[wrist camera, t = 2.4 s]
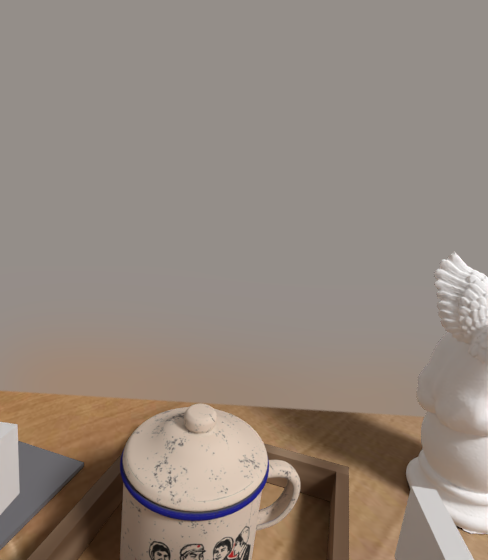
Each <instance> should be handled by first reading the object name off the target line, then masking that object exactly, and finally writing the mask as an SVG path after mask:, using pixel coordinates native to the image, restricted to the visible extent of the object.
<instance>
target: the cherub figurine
mask: <svg viewBox="0 0 488 560" xmlns="http://www.w3.org/2000/svg"><path fill="white" fill-rule="evenodd" d="M440 267H441V268H440V269H437V270H435V272H434V277H435V278H436V279H438V281H436V282H435V284H434V285H435V286H436V288H437V289H438V291H437V293H436V294H437V297H438V298H440V299H441V301H440V302H438V304H437V307H438V309H439V312H438V314H439V316H440V317H441V319H442V320H441V324H442V326H443V327H444V328H445V330H446V331H447V333H446V334H445V335H444V336H443V337H442V338H441V339H440V341H439V342H438V344H437V345H436V347H435V349H434V351H433V353H432V356H431V359H430V361H429V363H428V364H427V366H426V367H425V368H424V369H423V370H422V372H421V373H420V374H419V377H418V387H417V400H418V402H419V404H420V405H421V407H422V408H423V409H424V410H426V411H427V413H426V415H425V417H424V419H423V423H422V427H421V442H422V447H423V449H422V450H421V451H420V453H419V457H416V458H414V459H413V460H411V461H410V463H409V464H408V466H407V469H406V477H407V481H408V483H409V486H410V489H411V486H415V487H422V488H428V489H434V490H437V492H438V494H439V496H440V498H441V500H442V501H443V503H444V505H445V507H446V509H447V511H448V512H449V514H450V516H451V518H452V520H453V522H454V524H455V525H456V526H458V527H459V528H462V529H463V530H464V531H467V532H470V533H472V534H473V533H477V534H484V533H485V534H488V277H487V276H486V275H484V274H483V273H480V272H478V271H477V270H473V269H472V268H470V267H468V266H466V264H465V263H464V262H463V261H462V259H461V258H460V257H459V256H458V255H456V253H455V252H453V253H452V254H451V255H450V256H448V257H447V260H445V259H444V260H441V262H440Z"/></svg>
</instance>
